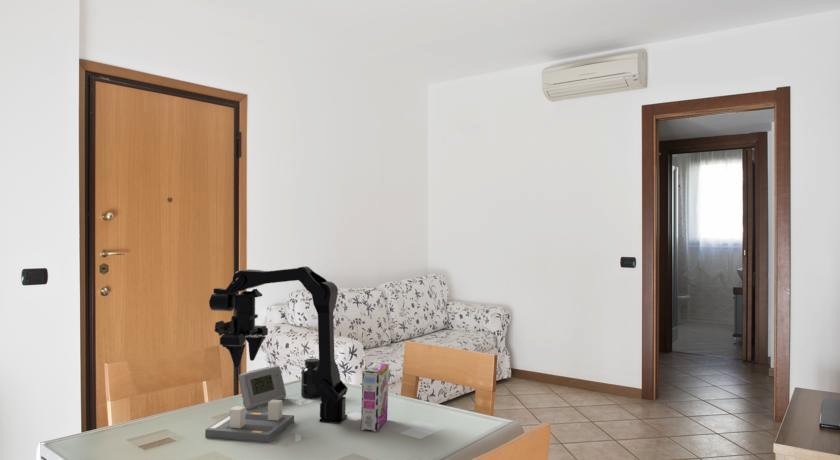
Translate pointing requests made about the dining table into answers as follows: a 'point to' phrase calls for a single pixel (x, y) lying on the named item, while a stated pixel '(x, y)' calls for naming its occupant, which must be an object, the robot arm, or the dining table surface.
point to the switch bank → (251, 428)
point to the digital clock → (261, 386)
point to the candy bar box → (374, 397)
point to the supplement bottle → (309, 379)
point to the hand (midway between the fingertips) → (244, 363)
